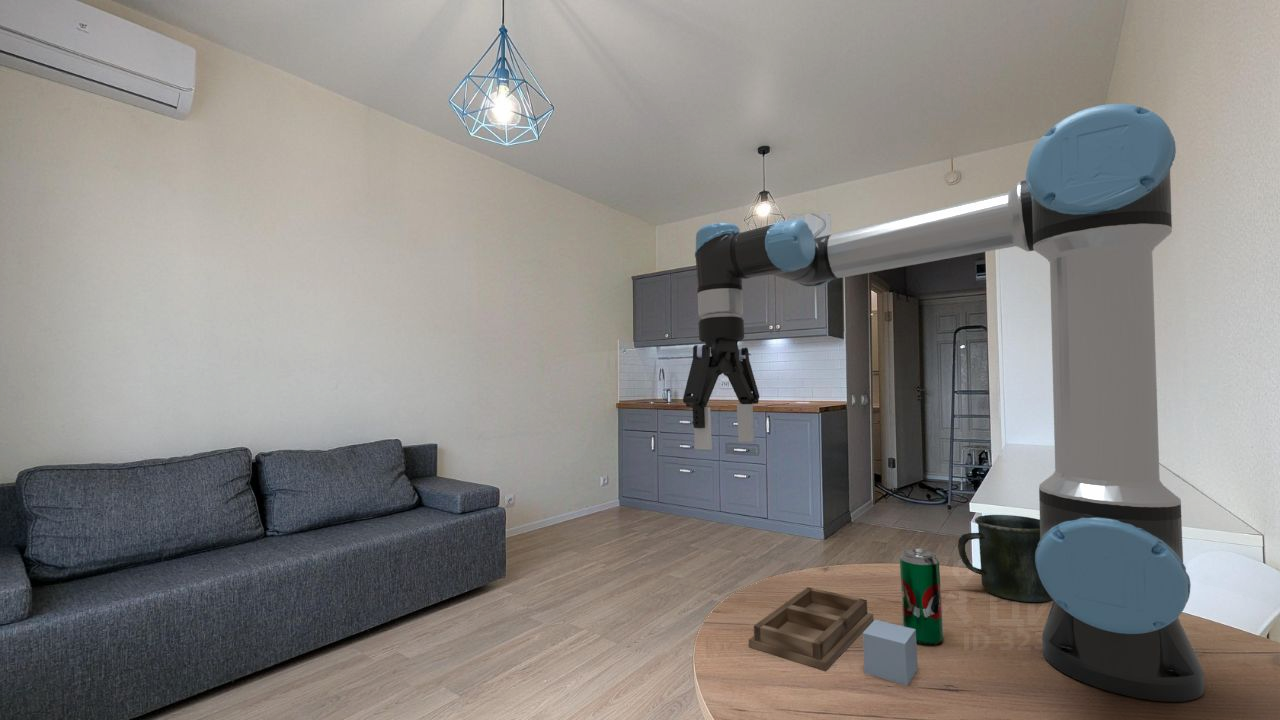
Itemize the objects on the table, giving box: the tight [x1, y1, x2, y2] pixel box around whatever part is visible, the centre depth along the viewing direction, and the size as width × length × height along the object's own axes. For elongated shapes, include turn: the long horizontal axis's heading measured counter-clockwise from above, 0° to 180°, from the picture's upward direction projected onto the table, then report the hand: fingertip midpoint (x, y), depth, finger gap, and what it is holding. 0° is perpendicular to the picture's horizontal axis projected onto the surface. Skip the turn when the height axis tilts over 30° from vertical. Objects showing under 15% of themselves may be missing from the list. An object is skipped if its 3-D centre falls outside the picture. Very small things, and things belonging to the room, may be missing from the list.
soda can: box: [899, 548, 944, 646], centre depth 78 cm, size 5×5×12 cm
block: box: [862, 619, 919, 687], centre depth 69 cm, size 5×5×5 cm
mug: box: [957, 514, 1053, 603], centre depth 94 cm, size 11×15×12 cm
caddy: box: [748, 586, 874, 672], centre depth 81 cm, size 11×19×3 cm, turn 140°
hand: (726, 445), depth 90 cm, fingers open, 13 cm apart
